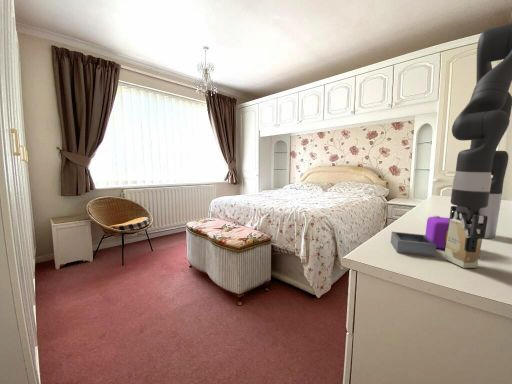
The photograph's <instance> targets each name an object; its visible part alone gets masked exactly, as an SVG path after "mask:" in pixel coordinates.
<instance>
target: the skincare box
mask: <svg viewBox="0 0 512 384" xmlns="http://www.w3.org/2000/svg"><path fill="white" fill-rule="evenodd" d="M467 225H468V226H470V227H471V225H472V224H467ZM480 230H481V229H480ZM480 230H479V233H480ZM470 231H471V229H470ZM465 240H466V233H465V230H464V229H463V228H462V222H461V221H460V220H458V219H450V223H449V229H448V236H447V242H446V248H445V249H444V257H443V258H444V259H445V260H447V261H449V262H451V263H453V264H455V265H458V266H459V267H462V268H463V269H465V268H466V269H468V268H470V269H471V268H472V269H473V268H475V269H476V268H478V265H479V259H480V253H481V248H482V244H483V243H482V242H483V239H478V241H477V248H476V252H474V253H473V252H467V251H465V250H464V247H465Z"/></svg>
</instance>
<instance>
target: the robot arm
mask: <svg viewBox="0 0 512 384" xmlns="http://www.w3.org/2000/svg"><path fill="white" fill-rule="evenodd" d="M496 61H500V62H499V63H498V64H497V65H495V66H494V67H493V66H492V62H496ZM475 76H476V78H475V79H476V84H475V86H474V89H473V90H472V93H471V97H470V100H469V101H468V103H467V105H466V106H465V107H464V109H462V111H461V112H460V113H459V114H458V115H457V117H456V118H455V120H454V122H453V124H452V128H451V133H452V137H453V138H454V139H456V140H457V141H464V142H465V141H470V148H469V149H464V150H460V151H459V152H458V154H457V158H456V165H455V166H456V167H455V173H454V176H453V177H454V178H453V180H452V189H451V196H450V204H451V206H450V211H449V217H448V218H449V223H450V219H458V220H460V221H461V222H462V228H463V229H464V230H465V233H466V240H465V247H464V250H465V251H467V252H473V253H474V252H476V248H477V241H478V239H482V240H484V239H495V238H496V234H497V229H498V228H497V227H498V223H499V221H498V220H499V215H500V210H501V209H500V208H501V202H502V196H503V188H504V182H505V177H506V173H507V168H508V165H509V153H508V152H507V151H506V150H497V149H498V147H499V145H500V142H501V140H502V139H503V137H504V135H505V134H506V131H507V130H508V127H509V125H510V121H511V120H510V119H511V114H512V113H511V112H512V94H511V93H510V91H509V90H510V87H511V84H512V22H510V23H507V24H503V25H502V24H501V25H499V26H495V27H490V28H488V29H484V31H482V33H481V34H480V35H479V38H478V41H477V48H476V75H475ZM467 224H472V225H471V227H470V226H468V225H467ZM470 229H471V231H470ZM480 229H481V230H480ZM479 230H480V233H479Z"/></svg>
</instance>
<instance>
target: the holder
mask: <svg viewBox="0 0 512 384" xmlns="http://www.w3.org/2000/svg"><path fill="white" fill-rule="evenodd" d="M390 244H391V245H392V247H393V249H394V250H395V252H396V253H399V254H405V255H413V256H421V257H429V258H436V254H437V253H436V250H437V248H436V244H435V243H434V242H433V241H431V240H430V239H429V238H428V237H427V236H426V235H425V234H420V233H419V234H418V233H409V232H399V231H391V235H390Z"/></svg>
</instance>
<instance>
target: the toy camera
mask: <svg viewBox="0 0 512 384" xmlns="http://www.w3.org/2000/svg"><path fill="white" fill-rule="evenodd" d="M449 218H450V217H443V216H441V217H440V215H435V214H434V215H432V216H429V217H427V219H426V226H425V234H424V235H426V236H427V237H428V238H429V239H430V240H431V241H433V242H434V243H435V244H436V249H441V250H445V248H446V242H447V236H448V229H449Z"/></svg>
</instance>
